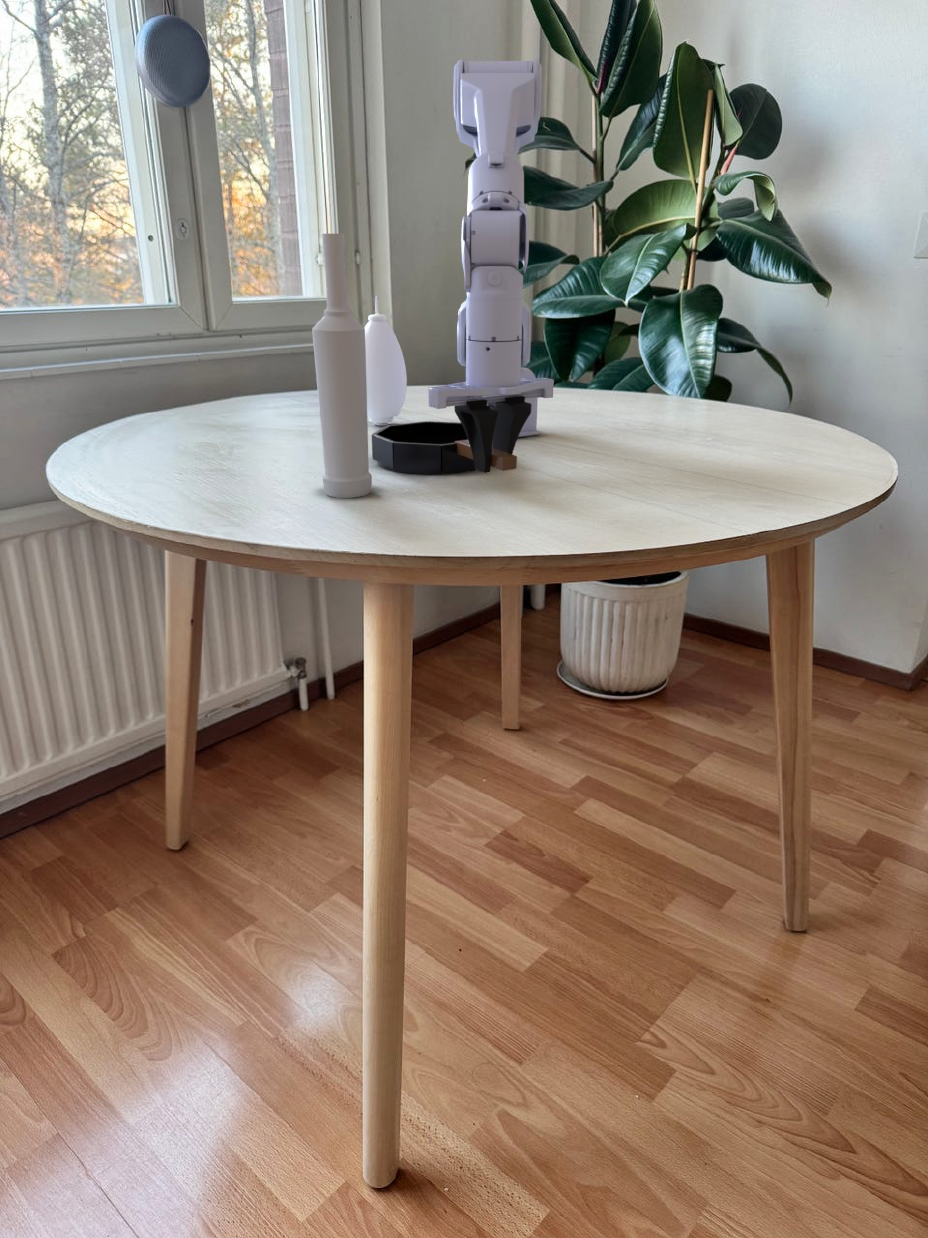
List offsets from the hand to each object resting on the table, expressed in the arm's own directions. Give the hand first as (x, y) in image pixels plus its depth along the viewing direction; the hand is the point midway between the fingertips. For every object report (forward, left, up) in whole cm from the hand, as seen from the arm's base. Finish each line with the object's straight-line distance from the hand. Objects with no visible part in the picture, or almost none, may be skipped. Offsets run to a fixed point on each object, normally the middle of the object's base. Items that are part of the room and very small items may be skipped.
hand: (491, 469), depth 91 cm
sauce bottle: (-5, -38, -2) cm, 38 cm away
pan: (0, -8, -2) cm, 8 cm away
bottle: (+15, -5, -2) cm, 16 cm away
